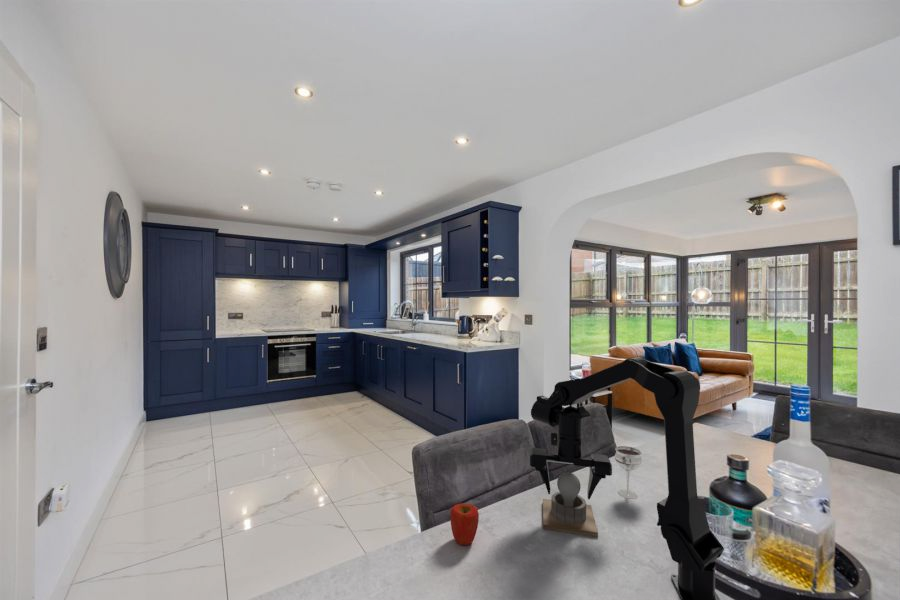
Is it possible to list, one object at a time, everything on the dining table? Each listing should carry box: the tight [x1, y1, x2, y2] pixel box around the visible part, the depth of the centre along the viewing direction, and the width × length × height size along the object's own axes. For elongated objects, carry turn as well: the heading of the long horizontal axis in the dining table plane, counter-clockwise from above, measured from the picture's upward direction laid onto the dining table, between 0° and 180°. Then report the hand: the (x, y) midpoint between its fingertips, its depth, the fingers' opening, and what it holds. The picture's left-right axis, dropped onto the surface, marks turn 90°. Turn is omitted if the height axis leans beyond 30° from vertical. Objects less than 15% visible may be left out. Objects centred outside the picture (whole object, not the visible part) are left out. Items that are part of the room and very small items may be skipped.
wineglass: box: [614, 445, 643, 499], centre depth 105 cm, size 7×7×12 cm
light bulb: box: [556, 471, 582, 507], centre depth 93 cm, size 5×6×10 cm
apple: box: [449, 502, 480, 546], centre depth 83 cm, size 6×6×8 cm
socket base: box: [542, 491, 599, 538], centre depth 93 cm, size 12×12×4 cm
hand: (568, 496), depth 93 cm, fingers open, 9 cm apart
